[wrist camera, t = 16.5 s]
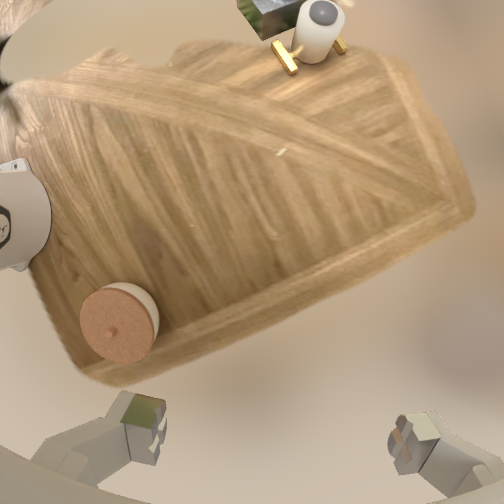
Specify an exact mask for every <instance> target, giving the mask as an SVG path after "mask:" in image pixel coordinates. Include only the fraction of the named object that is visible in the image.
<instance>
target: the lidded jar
mask: <svg viewBox="0 0 504 504" xmlns="http://www.w3.org/2000/svg"><path fill="white" fill-rule="evenodd" d="M80 326H81V330H82V333H83V335H84V337H85V339H86V341H87V342H88V344H89V345H90V346H91V348H92V349H93V350H94V351H95V352H96V353H97V354H99V355H100V356H101V357H103V358H105V359H106V360H109V361H111V362H114V363H117V364H133V363H136V362H138V361H140V360H142V359H143V358H144V357H145V356H146V355H147V354H148V353H149V351H150V349H151V347H152V345H153V343H154V341H155V339H156V336H157V333H158V329H159V313H158V309H157V306H156V304H155V302H154V300H153V299H152V297H151V296H150V295H149V294H148V293H147V292H146V291H145V290H144V289H142V288H141V287H139V286H137V285H135V284H131V283H127V282H117V283H112V284H109V285H106V286H104V287H102V288H100V289H99V290H97V291H95V292H93V293H92V294H90V295H89V296H88V297H87V298H86V299H85V300H84V302H83V304H82V307H81V310H80Z"/></svg>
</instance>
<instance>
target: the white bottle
mask: <svg viewBox="0 0 504 504" xmlns="http://www.w3.org/2000/svg"><path fill="white" fill-rule="evenodd" d="M344 23H345V15H344V13H343V11H342V9H341V8H340V7H339V6H338V5H337V4H335V3H334V2H332V1H330V0H307V1H306V2H304V3H303V4H302V6H301V8H300V12H299V16H298V20H297V24H296V28H295V33H294V37H293V41H292V52H293V54H294V55H295V56H296V57H297V58H298V59H299V60H300V61H302V62H305V63H309V64H315V63H319V62H321V61H323V60H324V59H325V58H326V56H327V54H328V52H329V51H330V49H331V47H332V45H333V43H334V42H335V40H336V38H337V36H338V34H339V32H340V31H341V29H342V27H343V25H344Z"/></svg>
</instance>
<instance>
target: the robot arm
mask: <svg viewBox="0 0 504 504" xmlns="http://www.w3.org/2000/svg"><path fill="white" fill-rule="evenodd" d="M16 166H17V167H16ZM50 226H51V208H50V203H49V199H48V195H47V193H46V190H45V188H44V186H43V185H42V183H41V182H40V181H39V179H38V178H37V177H36V176H35V175H34V174H33V173H32V171H31V168H30V165H29V163H28V161H27V159H26V158H18V159H15V160H12V161H9V162H6V163H4V164H1V165H0V270H3V269H6V268H9V267H11V268H13V269H15V270H17V271H19V272H21V271H24V270H26V268H27V267H28V265H29V262H30V260H31V259H32V258H33V257H34V256H35V255H36V254H38V253H39V252H40V251H41V249H42V248H43V247H44V245H45V243H46V241H47V238H48V235H49V232H50ZM165 411H166V401H165V400H163V399H158V398H153V397H149V396H145V395H141V394H136V393H132V392H128V391H124V390H123V391H121V392H120V393H119V395H118V397H117V398H116V400H115V401H114V403H113V405H112V406H111V408H110V410H109V411H108V413H107V415H106V416H105V418H102V417H99V418H97V419H95V420H92V421H90V422H88V423H85V424H82V425H80V426H78V427H75V428H73V429H70V430H67V431H65V432H62V433H60V434H57V435H55V436H52V437H49V438H47V439H45V441H44V442H43V443H42V445H41V446H40V448H39V449H38V450H37V452H36V453H35V454H34V456H33V457H32V459H31V460H28V459H26V458H23V457H22V456H20V455H18V454H16V453H14V452H12V451H10V450H8V449H7V448H5V447H3V446H1V445H0V504H149V503H145V502H141V501H137V500H134V499H130V498H126V497H123V496H120V495H116V494H113V493H110V492H107V491H103V490H100V489H98V486H97V484H98V483H100V482H101V481H103V480H104V479H106V478H108V477H109V476H111V475H112V474H113V473H115V472H116V471H118V470H119V469H121V468H122V467H124V466H125V465H127V464H128V463H129V462H131V461H135V462H139V463H144V464H149V465H154V466H155V465H156V462H157V459H158V457H159V454H160V446H159V445H161V444H163V442H164V439H165V435H166V429H167V419H166V417H165V416H164V414H165ZM396 426H397V427H396V428H395V429H394V430H393V431H392V432H391V433H390V436H389V438H388V450H389V453H390V455H391V456H393V457H394V458H396V459H395V461H394V465H395V467H396V470H397V472H398V474H399V475H405V474H412V473H419V475H421V476H422V477H423V478H424V479H425V480H427V481H428V482H429V483H430V484H432V485H433V486H434V487H435V488H436V489H438V490H439V491H440V492H441V493H443V494H444V495H445V496H446V497H448V498H447V499H443V500H440V501H436V502H432V503H428V504H504V463H503V461H502V460H501V458H500V457H498V456H496V455H494V454H491V453H490V452H488V451H486V450H484V449H482V448H480V447H478V446H476V445H474V444H472V443H470V442H468V441H466V440H464V439H462V438H460V437H458V436H453V434H452V433H451V431H450V430H449V428H448V427H447V425H446V424H445V423H444V421H443V420H442V418H441V417H440V415H439V414H438V412H436V411H429V412H423V413H414V414H403V415H400V416H399V417H398V418H397V421H396ZM130 460H131V461H130Z"/></svg>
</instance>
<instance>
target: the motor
mask: <svg viewBox="0 0 504 504" xmlns="http://www.w3.org/2000/svg"><path fill="white" fill-rule="evenodd" d="M306 1H307V0H237V7H238V8H239V10H240V11H241V13H242V14H243V15H244V16H245V18H246V19H247V21H248V22H249V23H250V25H251V26H252V27H253V29H254V30H255V32H256V33H257V34H258V36H259V37H260V39H261V40H262V41H263V40H266V39H268V38H270V37H272V36H274V35H277V34H279V33H282V32H284V31H287V30H289V29H291V28H294V27H296V24H297V20H298V16H299V12H300V8H301V6H302V4H303V3H304V2H306ZM333 46H334V47H335V49H336V50H337V52H338V53H339V55H340V54H342V53H345V52H346V50H347V49H348V45H347V44H346V42H345V41H344V40H343V38H342V37H341V35H340V34H338V36H337V38H336V40H335V42H334V43H333ZM271 48H272V50H273V51H274V53H275V54H276V56H277V57H278V59H279V60H280V62H281V63H282V65H283V66H284V68H285V69H286V71H287V72H288V74H289V75H290V76H291V75H293V74H295V73H296V72H297V69H298V67H297V66H296V64H295V63H294V61H293V60H292V59H293V58H296V56H295V55H294V54H293V52H292V53H290V54H288V52H287V51H286V50H285V48H284V47H283V45H282V44H281V42H280V41H279V40H278V39H277V40H274V41H272V42H271Z"/></svg>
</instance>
